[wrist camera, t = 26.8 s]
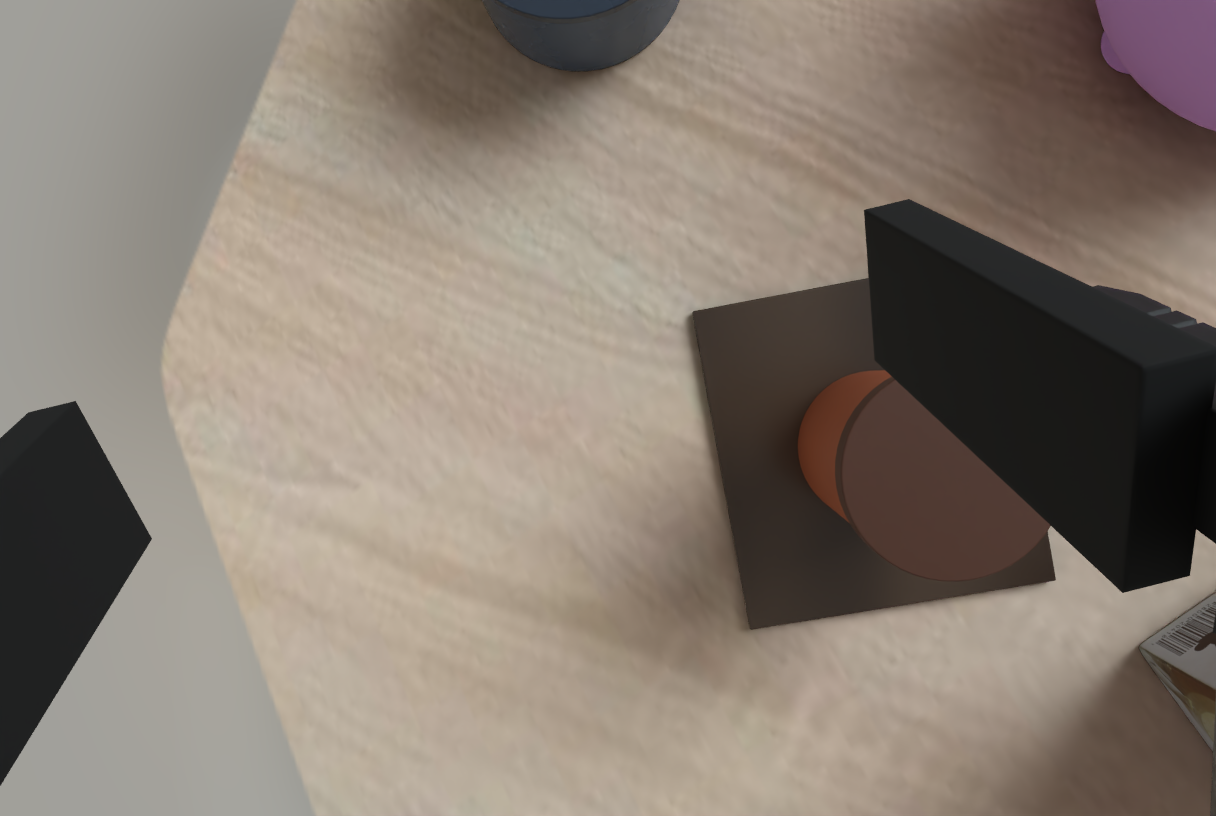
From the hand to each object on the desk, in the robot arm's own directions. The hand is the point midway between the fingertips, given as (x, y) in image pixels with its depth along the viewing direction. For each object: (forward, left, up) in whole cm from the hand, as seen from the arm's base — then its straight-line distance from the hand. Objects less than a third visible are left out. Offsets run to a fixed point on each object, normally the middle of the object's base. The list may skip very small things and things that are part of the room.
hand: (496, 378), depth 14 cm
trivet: (+11, -5, -23) cm, 26 cm away
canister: (+11, -5, -23) cm, 26 cm away
